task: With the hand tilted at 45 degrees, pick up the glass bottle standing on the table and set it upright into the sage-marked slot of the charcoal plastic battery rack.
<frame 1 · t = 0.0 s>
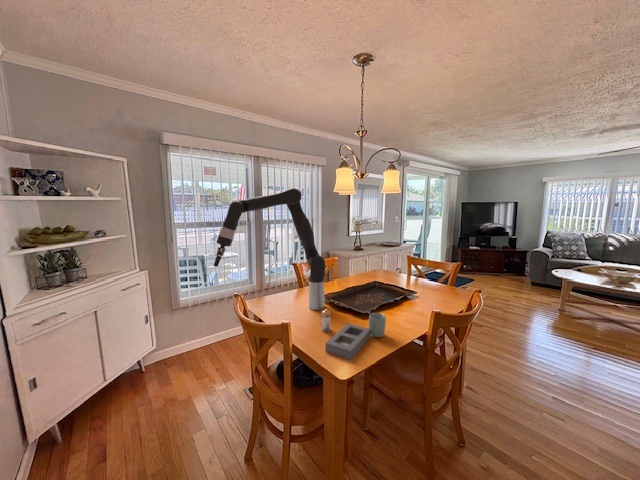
hand: (216, 264, 139), 31 cm above the table, tool tilted 20°, fingers open, 8 cm apart
glass bottle: (325, 329, 132), on the table
rack: (349, 343, 118), on the table
cup: (376, 335, 126), on the table, touching rack
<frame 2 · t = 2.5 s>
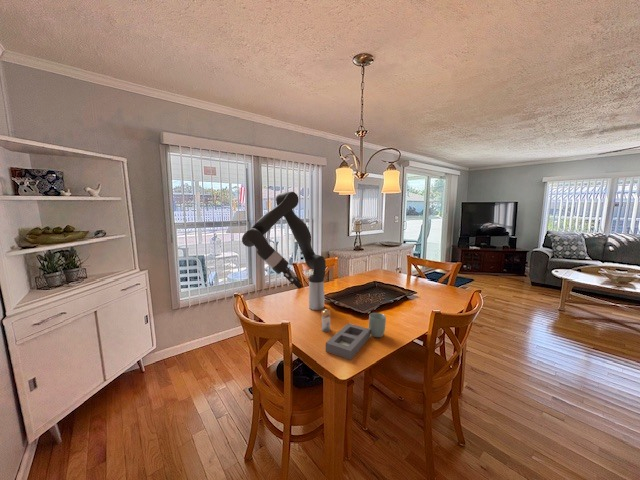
hand: (300, 284, 126), 24 cm above the table, tool tilted 45°, fingers open, 8 cm apart
nothing on the table moved.
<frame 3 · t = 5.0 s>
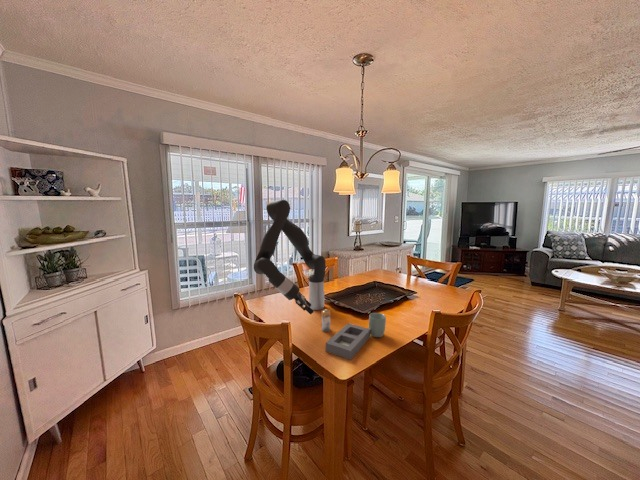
hand: (311, 309, 129), 11 cm above the table, tool tilted 45°, fingers open, 8 cm apart
nothing on the table moved.
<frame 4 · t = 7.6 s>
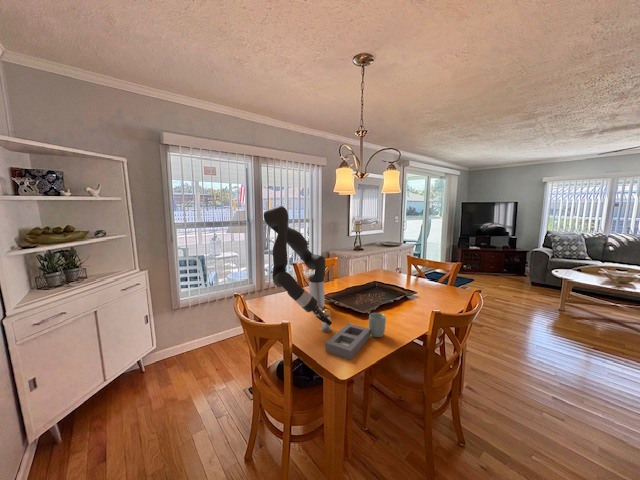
hand: (329, 321, 131), 4 cm above the table, tool tilted 45°, fingers closed on glass bottle, 4 cm apart
glass bottle: (325, 329, 132), on the table, touching gripper
everything else where it was.
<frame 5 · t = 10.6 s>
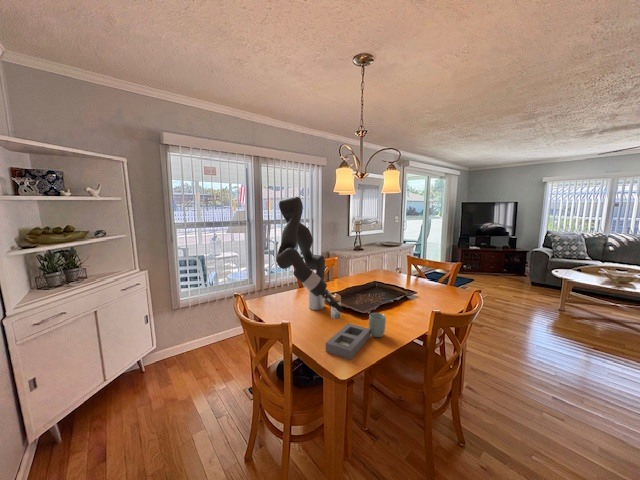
hand: (340, 308, 118), 16 cm above the table, tool tilted 45°, fingers closed on glass bottle, 4 cm apart
glass bottle: (335, 316, 118), point 12 cm above the table, touching gripper
everything else where it was.
when the fingers open (7 cm above the table, at t = 13.9 s): glass bottle drops 1 cm, resting on rack.
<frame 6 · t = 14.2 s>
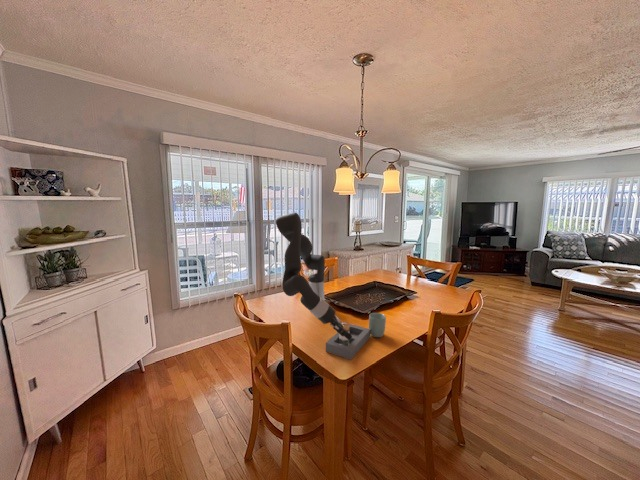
hand: (348, 333, 113), 7 cm above the table, tool tilted 45°, fingers open, 7 cm apart
glass bottle: (344, 346, 114), point 1 cm above the table, touching rack
everything else where it was.
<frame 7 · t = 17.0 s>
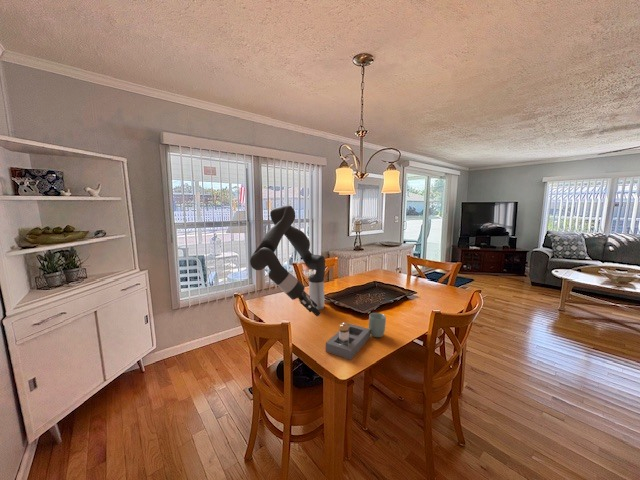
hand: (317, 310, 111), 18 cm above the table, tool tilted 45°, fingers open, 8 cm apart
nothing on the table moved.
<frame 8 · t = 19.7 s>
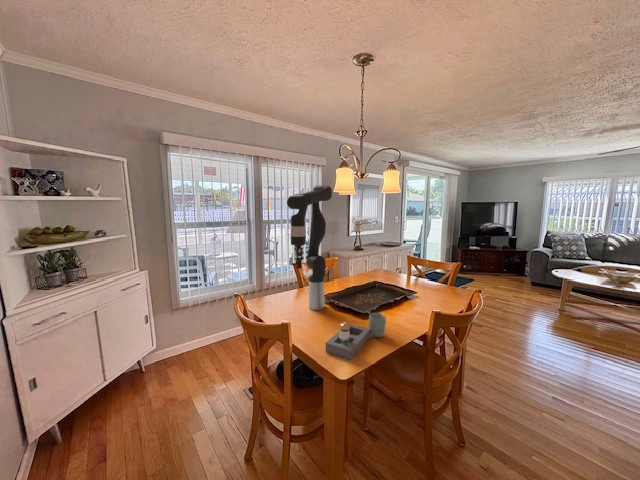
hand: (298, 266, 131), 32 cm above the table, tool pointing down, fingers open, 8 cm apart
nothing on the table moved.
at the end: glass bottle 0.1 cm from the target spot, point 1.3 cm above the table; glass bottle tilted 2°; the gripper is holding nothing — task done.
